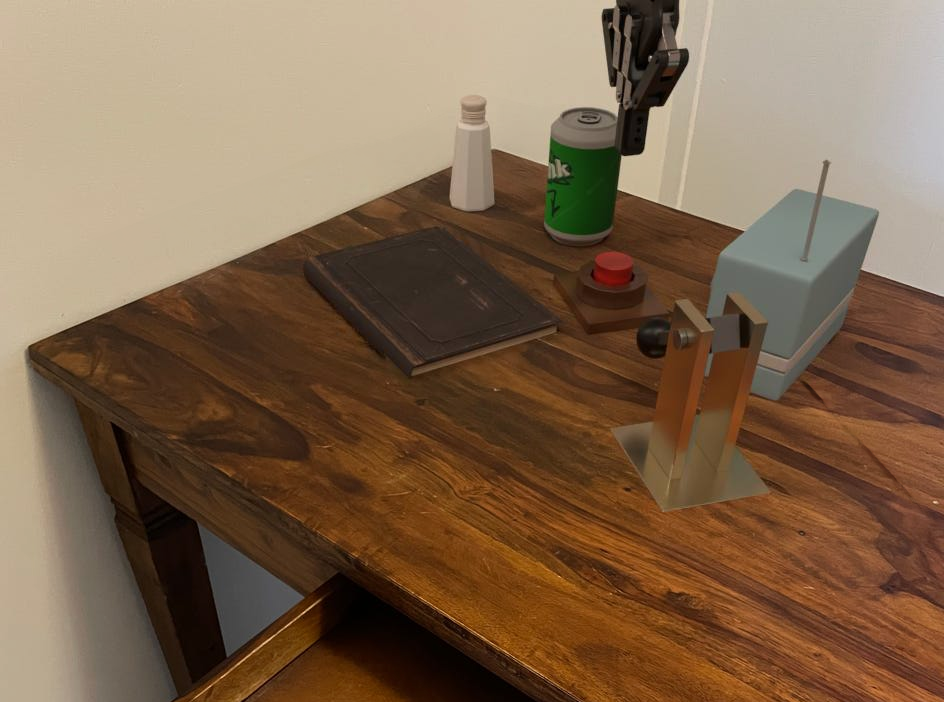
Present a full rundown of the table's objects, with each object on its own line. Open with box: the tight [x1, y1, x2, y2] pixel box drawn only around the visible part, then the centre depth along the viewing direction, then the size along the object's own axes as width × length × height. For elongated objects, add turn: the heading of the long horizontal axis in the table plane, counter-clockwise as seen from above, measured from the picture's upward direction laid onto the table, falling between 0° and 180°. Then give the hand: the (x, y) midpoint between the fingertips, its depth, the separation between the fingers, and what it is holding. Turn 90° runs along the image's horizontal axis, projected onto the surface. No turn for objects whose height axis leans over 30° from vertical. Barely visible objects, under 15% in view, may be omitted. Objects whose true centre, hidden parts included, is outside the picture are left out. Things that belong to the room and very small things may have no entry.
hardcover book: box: [302, 224, 564, 380], centre depth 92 cm, size 16×23×2 cm
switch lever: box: [635, 314, 740, 360], centre depth 72 cm, size 13×3×3 cm
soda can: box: [543, 106, 623, 247], centre depth 100 cm, size 8×8×12 cm
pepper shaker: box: [448, 94, 496, 213], centre depth 106 cm, size 5×5×11 cm
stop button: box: [593, 251, 634, 286], centre depth 89 cm, size 4×4×2 cm
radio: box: [704, 159, 880, 402], centre depth 80 cm, size 16×9×20 cm, turn 145°
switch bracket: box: [609, 292, 772, 513], centre depth 71 cm, size 11×9×14 cm
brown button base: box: [552, 259, 670, 336], centre depth 91 cm, size 10×8×4 cm
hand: (628, 152), depth 82 cm, fingers closed
